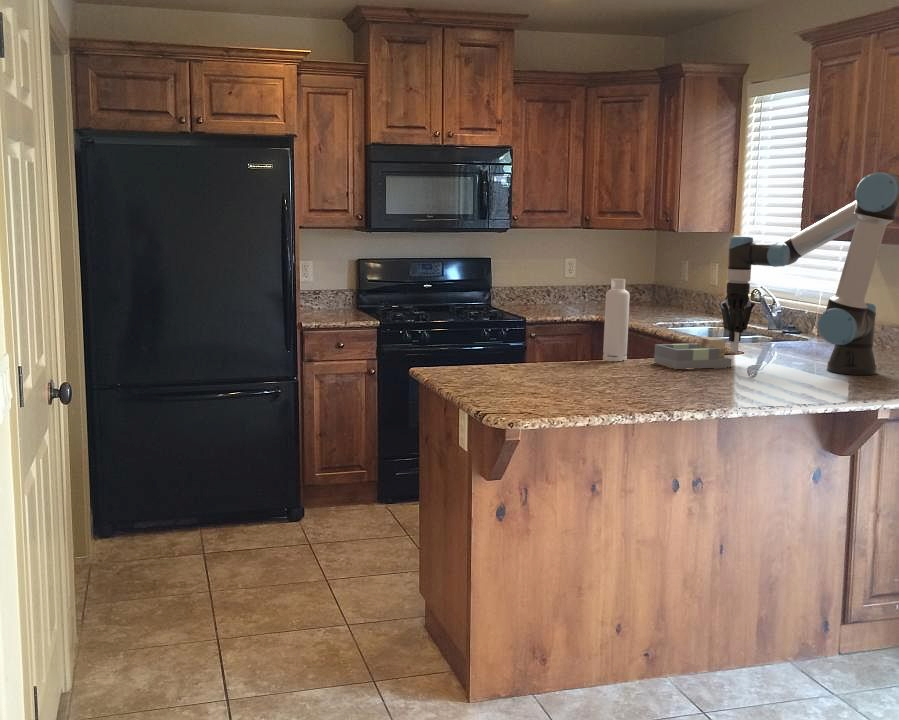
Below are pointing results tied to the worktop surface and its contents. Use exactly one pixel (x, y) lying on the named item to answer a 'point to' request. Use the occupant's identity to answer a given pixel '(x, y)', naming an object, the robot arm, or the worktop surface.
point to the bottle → (616, 321)
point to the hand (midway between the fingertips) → (733, 351)
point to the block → (713, 344)
